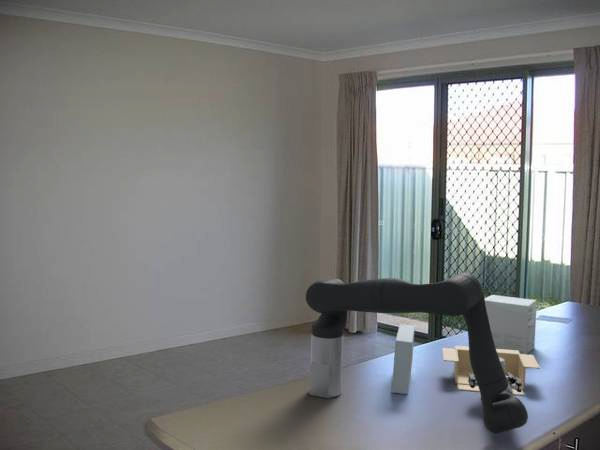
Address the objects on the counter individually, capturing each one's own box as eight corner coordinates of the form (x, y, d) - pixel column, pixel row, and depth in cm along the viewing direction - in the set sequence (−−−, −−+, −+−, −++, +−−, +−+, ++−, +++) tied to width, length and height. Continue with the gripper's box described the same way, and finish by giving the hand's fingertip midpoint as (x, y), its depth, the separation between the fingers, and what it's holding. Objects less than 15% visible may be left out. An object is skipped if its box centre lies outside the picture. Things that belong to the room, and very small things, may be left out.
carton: (540, 397, 198) (542, 372, 197) (442, 388, 203) (443, 364, 203) (529, 373, 220) (531, 351, 219) (441, 366, 225) (442, 344, 224)
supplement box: (535, 347, 251) (538, 299, 249) (526, 356, 240) (529, 306, 238) (489, 339, 260) (491, 293, 259) (478, 347, 249) (480, 299, 247)
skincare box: (409, 395, 197) (412, 341, 195) (391, 393, 198) (393, 340, 196) (412, 373, 217) (414, 324, 216) (395, 371, 219) (397, 323, 217)
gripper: (526, 381, 179) (519, 363, 195) (471, 376, 182) (468, 359, 198) (525, 409, 180) (517, 388, 196) (470, 403, 183) (466, 384, 198)
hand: (492, 374), depth 197 cm, fingers open, 8 cm apart
